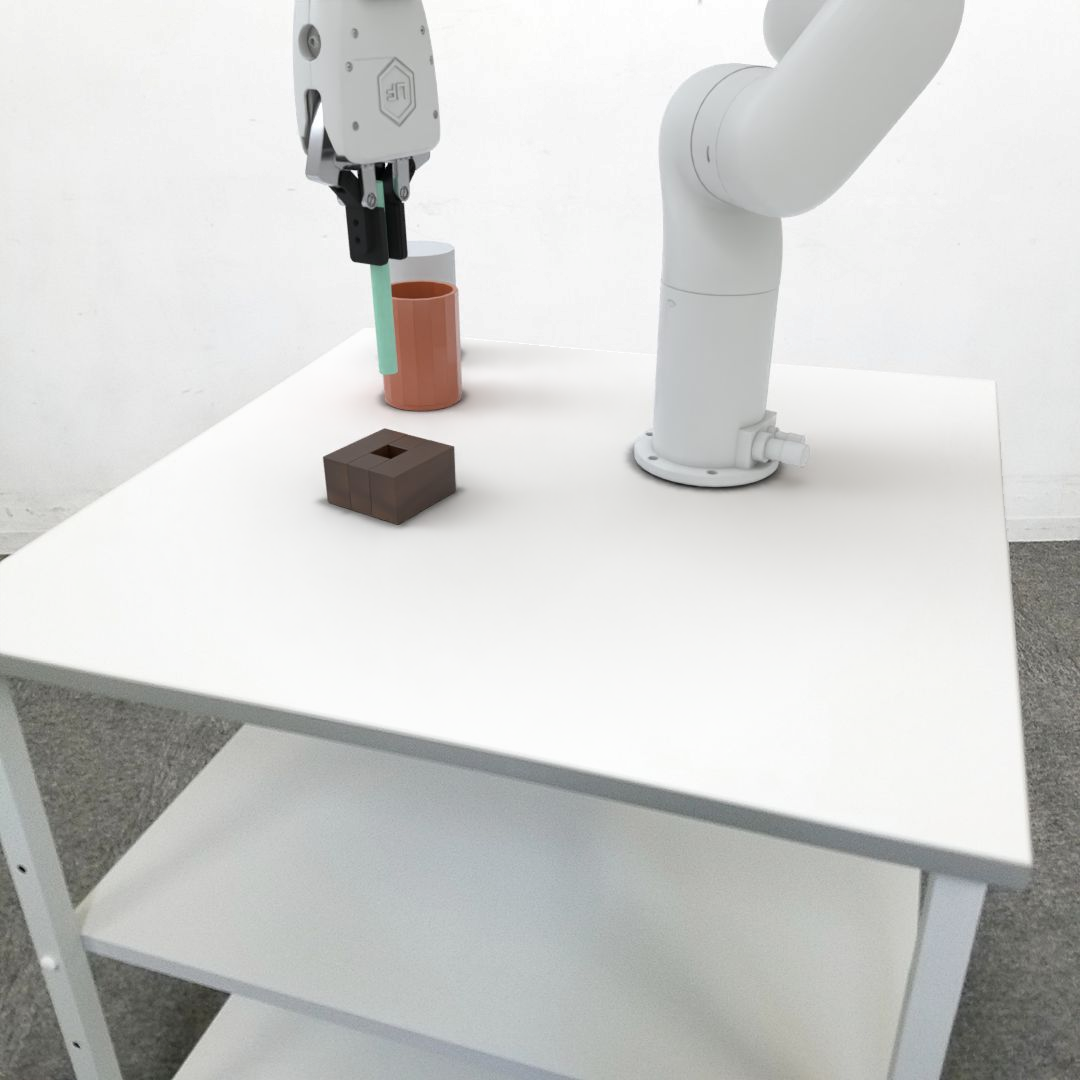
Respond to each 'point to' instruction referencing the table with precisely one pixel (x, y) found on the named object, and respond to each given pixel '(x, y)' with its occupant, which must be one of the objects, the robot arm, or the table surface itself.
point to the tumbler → (425, 346)
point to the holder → (390, 475)
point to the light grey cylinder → (425, 263)
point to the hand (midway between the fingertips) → (379, 258)
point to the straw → (383, 308)
